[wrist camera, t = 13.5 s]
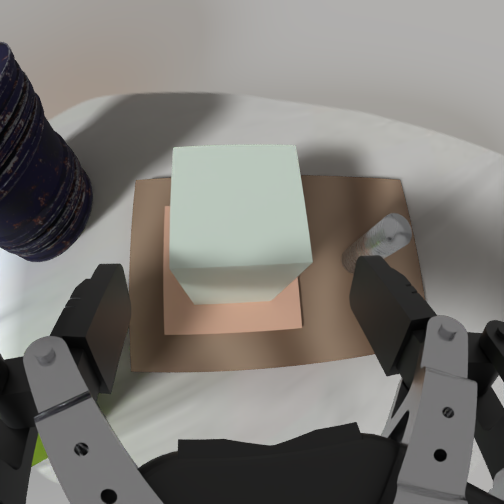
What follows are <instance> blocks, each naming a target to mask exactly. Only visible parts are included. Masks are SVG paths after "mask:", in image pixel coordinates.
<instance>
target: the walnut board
mask: <svg viewBox="0 0 504 504" xmlns="http://www.w3.org/2000/svg"><path fill="white" fill-rule="evenodd" d="M301 181H302V188H303V194H304V201H305V208H306V215H307V222H308V229H309V237H310V244H311V252H312V260H313V263H312V264H310V265H309V266H308V267H307V268H306V269H305V270H304V271H303V272H302V273H301V274H300V275H299V276H298V287H299V298H300V309H301V321H302V328H297V329H285V330H273V331H258V332H242V333H221V334H192V335H165V334H164V297H163V253H164V215H165V206H170V199H171V178H160V179H145V180H136V183H135V192H134V203H133V215H132V229H131V246H130V272H129V297H130V301H131V320H130V323H129V334H130V359H131V372H214V371H235V370H251V369H264V368H276V367H286V366H296V365H305V364H313V363H321V362H329V361H336V360H342V359H349V358H355V357H361V356H367V355H373V354H375V353H374V351H373V349H372V347H371V345H370V343H369V341H368V339H367V338H366V336H365V334H364V332H363V330H362V328H361V326H360V324H359V323H358V321H357V319H356V317H355V315H354V313H353V312H352V310H351V307H350V302H349V294H350V289H351V284H352V280H353V275H354V274H353V273H350V272H348V271H347V270H346V269H345V268H344V267H343V265H342V260H341V258H342V254H343V252H344V251H345V250H346V249H347V248H348V247H350V246H351V245H352V244H353V243H354V242H356V241H357V240H358V239H359V238H361V237H362V236H363V235H364V234H365V233H367V232H368V231H369V230H370V229H371V228H373V227H374V226H375V225H376V224H377V223H378V222H380V221H381V220H382V219H383V218H384V217H385V216H387V215H388V214H390V213H397V214H400V215H402V216H403V217H404V218H405V219H406V220H407V221H408V222H409V224H410V227H411V230H412V225H411V221H410V216H409V212H408V208H407V204H406V200H405V196H404V192H403V189H402V185H401V181H400V180H395V179H380V178H364V177H343V176H313V175H301ZM384 260H385V261H386V262H387V263H388V265H389V266H390V267H391V268H394V269H395V270H397V271H398V272H400V273H401V274H403V275H404V276H405V277H406V278H407V279H408V281H409V282H410V283H411V285H412V286H414V288H415V289H416V290H417V293H419V294H420V295H421V296H422V297H423V298H424V300H425V297H424V290H423V283H422V277H421V271H420V265H419V259H418V254H417V249H416V244H415V239H414V234H413V230H412V237H411V240H410V242H409V243H408V244H407V245H406V246H404V247H403V248H401V249H399V250H398V251H396V252H394V253H393V254H391V255H389V256H388V257H386V258H384Z"/></svg>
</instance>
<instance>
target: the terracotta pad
mask: <svg viewBox="0 0 504 504" xmlns="http://www.w3.org/2000/svg"><path fill="white" fill-rule="evenodd" d="M169 243H170V206H165V215H164V253H163V297H164V334H165V335H192V334H221V333H242V332H258V331H273V330H285V329H297V328H302V321H301V309H300V298H299V287H298V277H297V278H295V279H294V280H293V281H292V282H291V283H290V284H289V285H288V286H287V287H286V288H285V289H284V290H282V291H281V292H280V293H279V294H278V295H277V296H276V297H275V298H274V299H273V300H271V301H262V302H245V303H226V304H203V305H194V303H193V302H192V301H191V299H190V298H189V296H188V295H187V293H186V292H185V291H184V289H183V288H182V286H181V285H180V283H179V282H178V281H177V279H176V278H175V276H174V275H173V273H172V272H171V270H170V269H169Z"/></svg>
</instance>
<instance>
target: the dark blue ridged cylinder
mask: <svg viewBox="0 0 504 504" xmlns="http://www.w3.org/2000/svg"><path fill="white" fill-rule="evenodd" d="M92 201H93V192H92V186H91V182H90V179H89V177H88V175H87V174H86V172H85V171H84V170H83V168H82V167H81V165H80V163H79V160H78V158H77V157H76V155H75V154H74V152H73V151H72V150H71V148H70V147H69V146H68V145H67V144H66V142H65V141H64V139H63V138H62V137H61V136H60V135H59V134H58V133H57V132H55V131H54V130H53V128H52V127H51V125H50V124H49V122H48V121H47V119H46V118H45V116H44V110H43V107H42V104H41V101H40V98H39V96H38V95H37V94H36V93H35V92H34V89H33V87H32V84H31V82H30V81H29V79H28V77H27V76H26V75H25V73H24V72H23V71H22V70H21V68H20V66H19V64H18V63H17V61H16V60H15V59H14V55H13V53H12V51H11V49H10V47H9V46H8V44H6V43H4V42H0V248H2V249H4V250H6V251H8V252H9V253H13V254H16V255H18V256H20V257H22V258H23V259H25V260H28V261H32V262H43V261H48V260H50V259H53V258H55V257H57V256H59V255H61V254H62V253H63V252H65V251H66V250H67V249H68V248H69V247H70V246H71V245H72V244H73V243H74V242H75V241H76V240H77V238H78V237H79V236H80V234H81V232H82V231H83V229H84V227H85V225H86V223H87V221H88V218H89V215H90V212H91V208H92Z"/></svg>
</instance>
